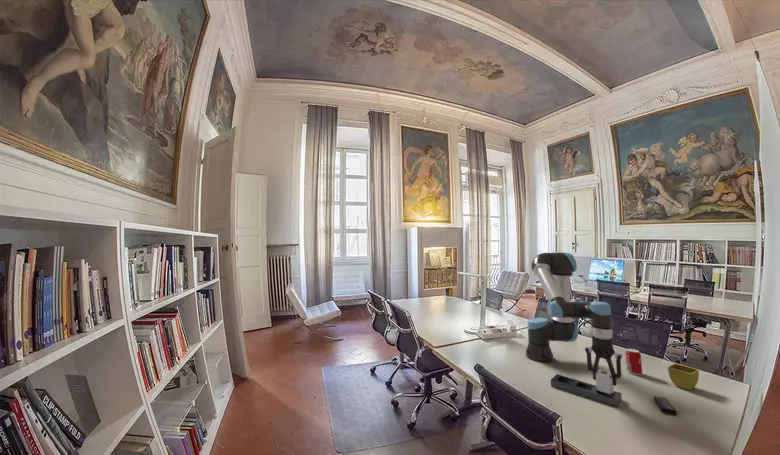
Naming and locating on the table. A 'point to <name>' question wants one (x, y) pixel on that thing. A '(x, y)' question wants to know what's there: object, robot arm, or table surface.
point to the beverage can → (633, 362)
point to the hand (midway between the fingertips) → (605, 389)
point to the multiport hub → (664, 405)
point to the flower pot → (683, 376)
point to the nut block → (604, 381)
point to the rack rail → (586, 390)
